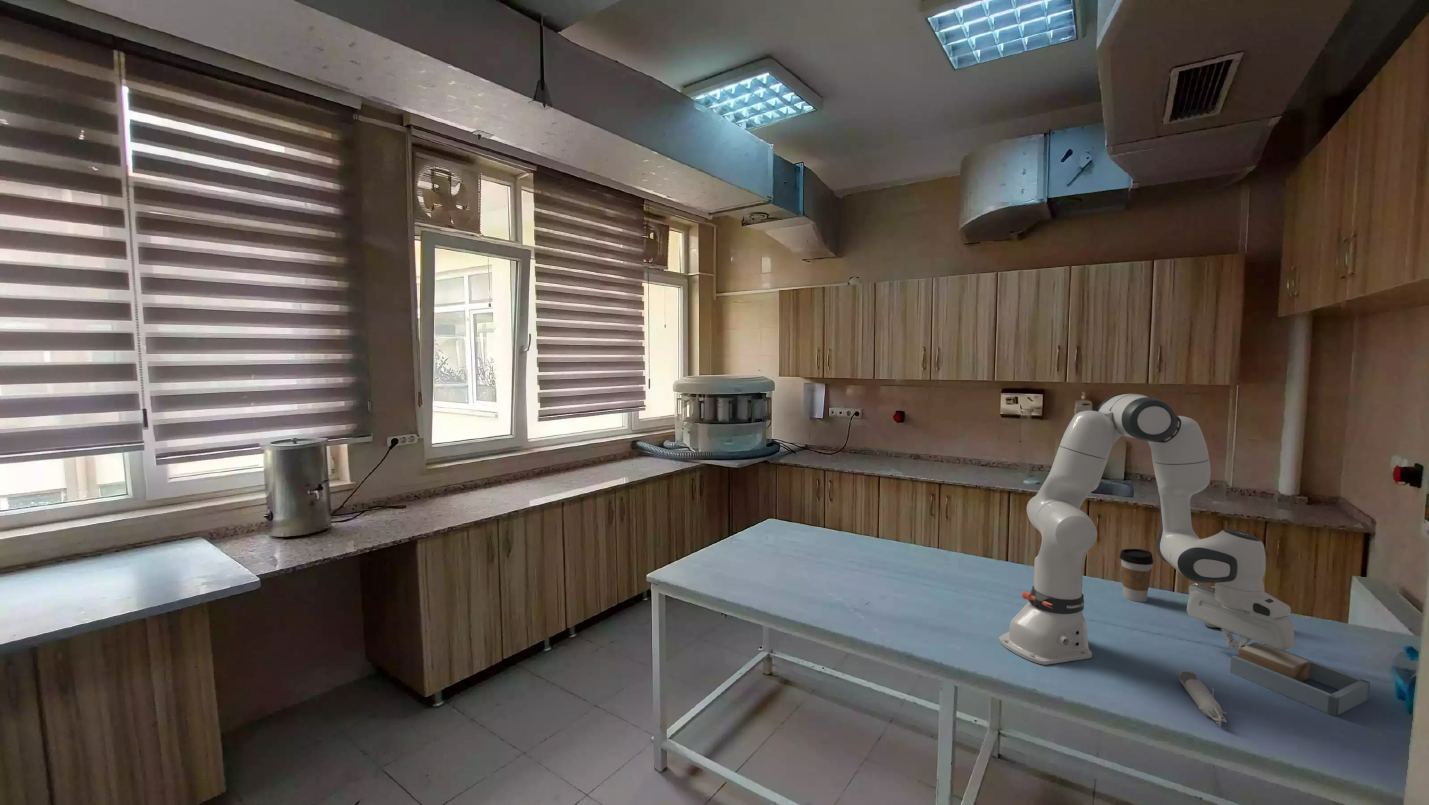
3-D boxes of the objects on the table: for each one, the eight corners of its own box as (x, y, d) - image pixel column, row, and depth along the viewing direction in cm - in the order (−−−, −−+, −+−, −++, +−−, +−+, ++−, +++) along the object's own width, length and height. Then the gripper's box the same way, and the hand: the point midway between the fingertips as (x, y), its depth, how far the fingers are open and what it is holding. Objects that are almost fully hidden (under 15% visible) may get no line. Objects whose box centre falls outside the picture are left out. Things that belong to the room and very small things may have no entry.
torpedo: (1172, 679, 132) (1173, 653, 131) (1196, 683, 130) (1197, 657, 129) (1206, 727, 115) (1207, 698, 114) (1235, 732, 113) (1236, 702, 113)
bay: (1335, 716, 117) (1336, 698, 116) (1230, 672, 134) (1231, 656, 133) (1369, 699, 122) (1370, 682, 122) (1264, 658, 139) (1264, 643, 138)
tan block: (1293, 690, 126) (1294, 668, 125) (1238, 668, 135) (1239, 647, 135) (1308, 682, 129) (1310, 661, 128) (1253, 661, 138) (1254, 641, 137)
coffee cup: (1157, 604, 169) (1159, 557, 168) (1126, 602, 171) (1128, 555, 170) (1142, 592, 177) (1144, 547, 176) (1113, 591, 179) (1114, 546, 178)
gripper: (1182, 582, 145) (1180, 632, 147) (1285, 615, 126) (1281, 673, 128) (1197, 578, 148) (1194, 627, 149) (1300, 610, 129) (1296, 666, 130)
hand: (1235, 649), depth 138 cm, fingers closed
